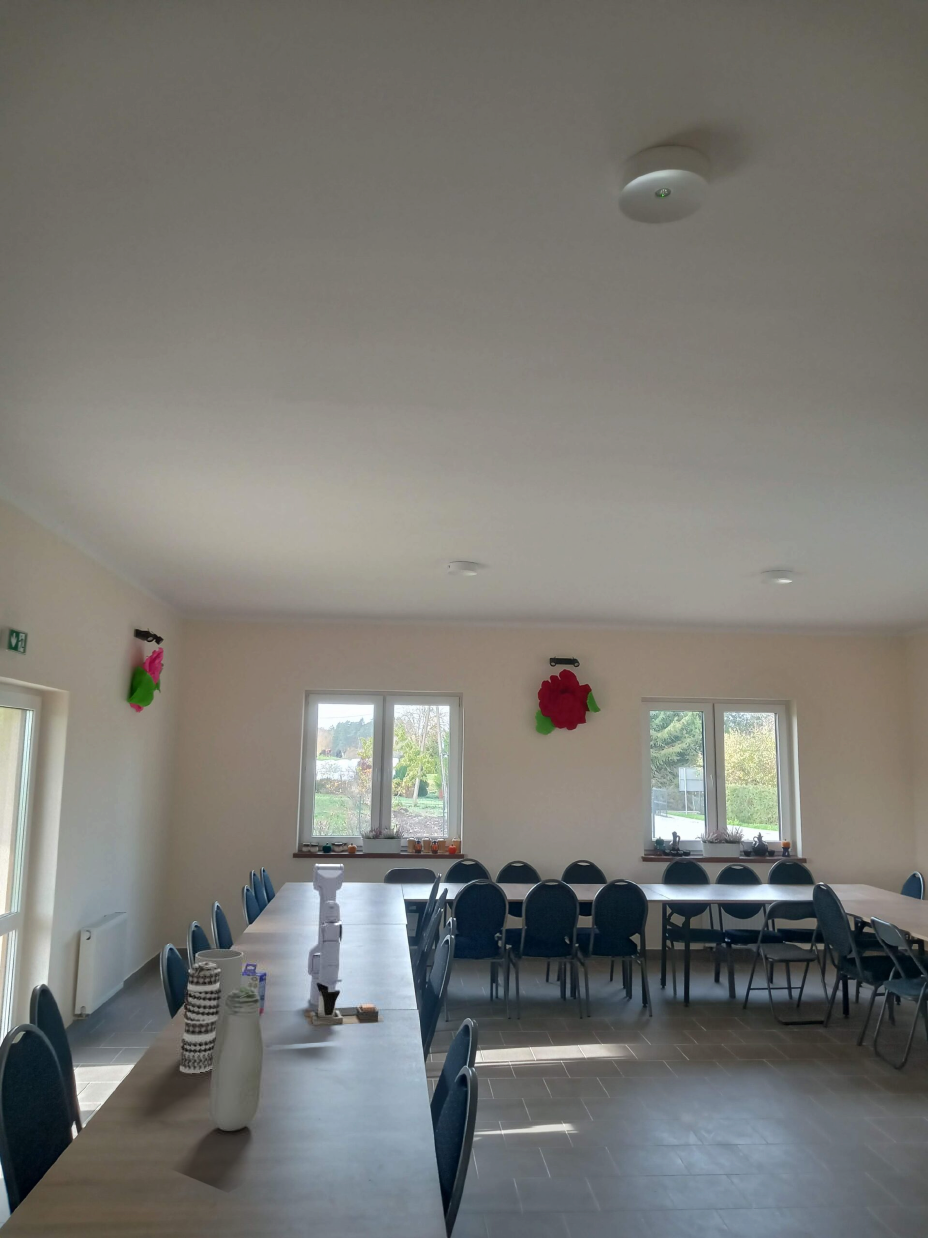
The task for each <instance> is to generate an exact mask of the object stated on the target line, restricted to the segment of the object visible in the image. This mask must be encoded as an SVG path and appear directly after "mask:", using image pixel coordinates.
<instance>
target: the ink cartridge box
mask: <svg viewBox="0 0 928 1238" xmlns="http://www.w3.org/2000/svg"><path fill="white" fill-rule="evenodd" d="M257 965H258V964H254V963H246V964H245V966H244V970H242V978H241V988H244V987H250V988H252V989H254V990H256V991H257V993H258V995H259V998H260V1010H259V1014H260V1013H263V1012H264V1011H265V1000H266V998H265V997H266V984H267V972H262V971H261V972H260V971H256V969H257ZM248 967H252V968H248Z"/></svg>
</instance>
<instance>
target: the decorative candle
mask: <svg viewBox="0 0 928 1238" xmlns="http://www.w3.org/2000/svg"><path fill="white" fill-rule="evenodd" d="M220 970H221V969H220V968H218V966H217V964H216V963H213V962H199V963H196V964H195V963H194V964H192V967H191V968H190V969H188V972H189V976H188V982H187V987H185V990H183V993H184V995H185V997H184V1005H183V1009H184V1013H183V1021H184V1023H185V1024H184V1030H183V1038H182V1039H181V1043H182V1045H181V1047H180V1048H181V1052H180V1060H179V1071H180V1072H182V1073H184V1074H192V1073H196V1074H201V1073H200V1072H204V1073H206V1072H205V1071H208V1070H210V1069H212V1062H213V1051H214V1045H215V1043H214V1042H215V1041H216V1037H215V1032H216V1029H215V1023H216V1020H217V1019H218V1015H217V1014H218V1013H219V1011H218V1010H216V1009H217V1008H218V1007H219V1006H220V1005H219V1004H218V1003H217V1000H219V999H220V998H221V997H220V996H219V995H218V994H219V993H221V989H218V988H219V971H220ZM210 1071H211V1070H210ZM208 1072H209V1071H208ZM192 1075H193V1074H192Z"/></svg>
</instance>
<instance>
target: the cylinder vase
mask: <svg viewBox="0 0 928 1238" xmlns="http://www.w3.org/2000/svg"><path fill="white" fill-rule="evenodd" d="M194 959H195V960H194V964H196V963H199V962H213V963H216V964H217V966H218V968H220V969H221V970H220V971H219V988H218V989H221V993H219V994H218V995H219V996H220V997H221V998H220V999H219V1000H217V1003H218V1004H219V1005H220V1006H219V1007H218V1008H217V1009H216V1010H218V1011H219V1013H218V1014H217V1015H218V1019H217V1020H216V1023H215V1029H216V1032H215V1037H216V1038H217V1035H218V1032H219V1030H220V1027H221V1023H222V1019H223V1015H224V1012H225V1001H226V998H227V996H228V995H229V994H230V993H231V992H232V991H233V990H235V989H238V988H241V978H242V971H243V964H244V963H243V962H244V952H242V951H239V950H236V949H228V948H227V949H226V948H225V949H223V948H220V949H219V948H218V949H209V950H208V949H207V950H202V951H198V952H197V953H195V958H194ZM215 1042H216V1041H215ZM215 1042H214V1043H215Z"/></svg>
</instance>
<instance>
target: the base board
mask: <svg viewBox="0 0 928 1238" xmlns="http://www.w3.org/2000/svg"><path fill="white" fill-rule="evenodd" d="M356 1007H357V1012H356V1015H354V1016H341V1014H340V1012H339V1011H338V1010H335V1017H333V1018H318V1009H312V1010H311V1009H310V1010H302V1012H303V1014H304V1016H305V1018H306V1021H307V1023H308V1025H309V1027H317V1026H319V1027H320V1026H333V1025H334V1026H335V1025H336V1026H337V1025H351V1024H354V1025H355V1024H370V1023H371V1024H372V1023H384V1021H383V1019H382V1017H380V1015H379V1010H378V1009H377V1007H376V1005H374V1007H375V1011H361V1006H356Z"/></svg>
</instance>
